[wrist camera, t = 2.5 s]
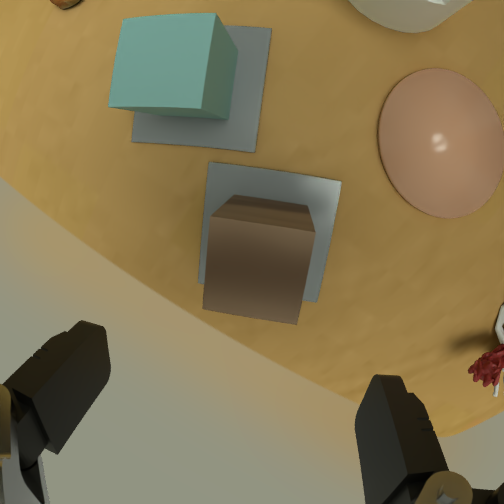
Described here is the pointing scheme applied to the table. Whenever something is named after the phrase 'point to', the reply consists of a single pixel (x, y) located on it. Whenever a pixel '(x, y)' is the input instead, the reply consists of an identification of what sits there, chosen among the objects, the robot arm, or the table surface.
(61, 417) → the robot arm
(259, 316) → the walnut block
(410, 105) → the pink round disc
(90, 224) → the table surface
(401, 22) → the cylinder with rectangular tab
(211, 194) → the code tile
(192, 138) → the code tile
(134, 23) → the teal block
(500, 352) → the figurine
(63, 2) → the pastry
